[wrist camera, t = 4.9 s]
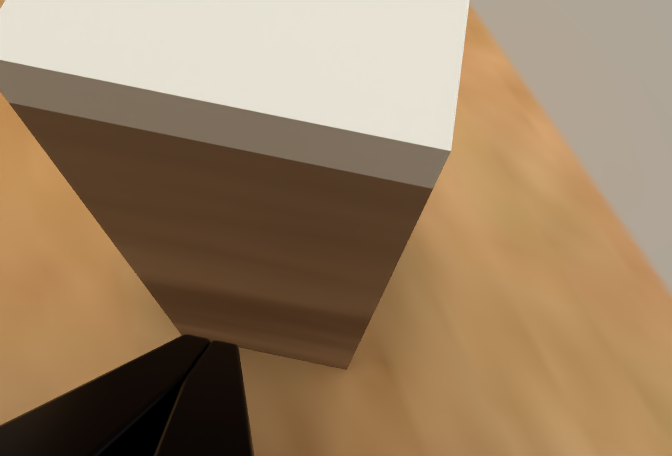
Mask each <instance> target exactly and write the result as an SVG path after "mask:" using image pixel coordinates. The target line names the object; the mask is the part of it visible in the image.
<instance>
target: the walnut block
mask: <svg viewBox="0 0 672 456" xmlns="http://www.w3.org/2000/svg"><path fill="white" fill-rule="evenodd" d="M468 8H469V0H6V1H5V2H4V4H3V6H2V7H1V9H0V91H1V93H2V94H3V96H4V97H5V98H6V100H7V101H8V102H9V104H10V105H11V106H12V108H13V109H14V110H15V112H16V113H17V114H18V116H19V117H20V118H21V120H22V121H23V122H24V124H25V125H26V126H27V128H28V129H29V130H30V132H31V133H32V134H33V136H34V137H35V139H36V140H37V141H38V143H39V144H40V145H41V147H42V148H43V149H44V151H45V152H46V153H47V155H48V156H49V157H50V159H51V160H52V161H53V163H54V164H55V165H56V167H57V168H58V169H59V171H60V172H61V173H62V175H63V176H64V177H65V179H66V180H67V182H68V183H69V184H70V186H71V187H72V188H73V190H74V191H75V192H76V194H77V195H78V196H79V198H80V199H81V200H82V202H83V203H84V204H85V206H86V207H87V208H88V210H89V211H90V212H91V214H92V215H93V216H94V218H95V219H96V220H97V222H98V223H99V224H100V226H101V227H102V229H103V230H104V231H105V233H106V234H107V235H108V237H109V238H110V239H111V241H112V242H113V243H114V245H115V246H116V247H117V249H118V250H119V251H120V253H121V254H122V255H123V257H124V258H125V259H126V261H127V262H128V263H129V265H130V266H131V267H132V269H133V270H134V272H135V273H136V274H137V276H138V277H139V278H140V280H141V281H142V282H143V284H144V285H145V286H146V288H147V289H148V290H149V292H150V293H151V294H152V296H153V297H154V298H155V300H156V301H157V302H158V304H159V305H160V306H161V308H162V309H163V310H164V312H165V313H166V315H167V316H168V317H169V319H170V320H171V321H172V323H173V324H174V325H175V327H176V328H177V329H178V331H179V332H180V333H181V335H185V334H189V335H194V336H199V337H204V338H208V339H209V340H210V341H214V340H218V341H223V342H228V343H233V344H236V345H237V346H238V347H241V348H246V349H251V350H255V351H260V352H265V353H270V354H274V355H279V356H284V357H289V358H294V359H298V360H303V361H308V362H313V363H318V364H322V365H327V366H332V367H337V368H341V369H346V370H347V367H348V365H349V363H350V361H351V359H352V357H353V355H354V353H355V351H356V349H357V347H358V344H359V342H360V340H361V338H362V336H363V334H364V332H365V330H366V328H367V326H368V324H369V321H370V319H371V317H372V315H373V313H374V311H375V309H376V307H377V305H378V303H379V300H380V298H381V296H382V294H383V292H384V290H385V288H386V286H387V284H388V282H389V280H390V277H391V275H392V273H393V271H394V269H395V267H396V265H397V263H398V261H399V259H400V257H401V254H402V252H403V250H404V248H405V246H406V244H407V242H408V240H409V238H410V236H411V233H412V231H413V229H414V227H415V225H416V223H417V221H418V219H419V217H420V215H421V213H422V210H423V208H424V206H425V204H426V202H427V200H428V198H429V196H430V194H431V192H432V190H433V187H434V185H435V183H436V181H437V179H438V177H439V175H440V173H441V171H442V169H443V166H444V164H445V162H446V160H447V158H448V156H449V154H450V152H451V146H452V138H453V130H454V122H455V113H456V105H457V97H458V89H459V81H460V73H461V65H462V57H463V49H464V40H465V32H466V24H467V16H468Z"/></svg>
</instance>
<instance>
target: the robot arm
mask: <svg viewBox="0 0 672 456" xmlns="http://www.w3.org/2000/svg"><path fill="white" fill-rule="evenodd" d="M0 456H254V451H253V444H252V437H251V431H250V424H249V417H248V410H247V403H246V396H245V389H244V383H243V376H242V369H241V362H240V355H239V349H238V346H237V345H236V344H233V343H228V342H223V341H218V340H214V341H212V342H211V341H210V340H209V339H208V338H204V337H199V336H194V335H189V334H185V335H182V336H180V337H178V338H176V339H174V340H172V341H170V342H168V343H166V344H164V345H162V346H160V347H158V348H156V349H154V350H152V351H150V352H148V353H146V354H144V355H142V356H140V357H138V358H136V359H134V360H132V361H130V362H128V363H126V364H124V365H122V366H120V367H118V368H116V369H114V370H112V371H110V372H107V373H105V374H103V375H101V376H99V377H97V378H95V379H93V380H91V381H89V382H87V383H85V384H83V385H81V386H79V387H77V388H75V389H73V390H71V391H69V392H67V393H65V394H63V395H61V396H59V397H57V398H55V399H53V400H51V401H49V402H47V403H45V404H43V405H41V406H39V407H37V408H35V409H33V410H31V411H29V412H27V413H25V414H22V415H20V416H18V417H16V418H14V419H12V420H10V421H8V422H6V423H4V424H2V425H0Z"/></svg>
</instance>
